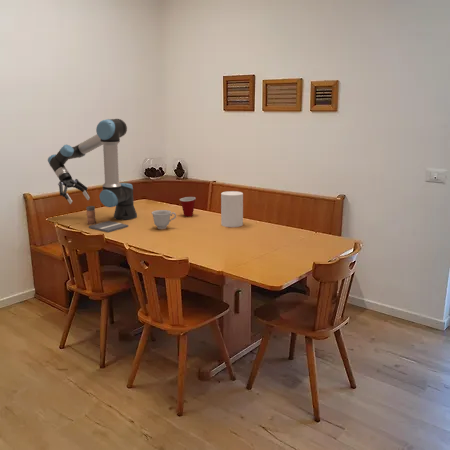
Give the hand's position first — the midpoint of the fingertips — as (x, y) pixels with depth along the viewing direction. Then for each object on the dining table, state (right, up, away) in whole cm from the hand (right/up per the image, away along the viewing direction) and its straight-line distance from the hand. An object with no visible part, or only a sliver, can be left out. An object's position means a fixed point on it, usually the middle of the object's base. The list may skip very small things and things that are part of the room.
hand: (80, 201), depth 311 cm
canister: (+97, -15, -5) cm, 98 cm away
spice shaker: (+8, -14, -2) cm, 17 cm away
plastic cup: (+68, -9, +18) cm, 71 cm away
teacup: (+55, -17, -13) cm, 59 cm away
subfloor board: (+21, -17, -11) cm, 29 cm away
